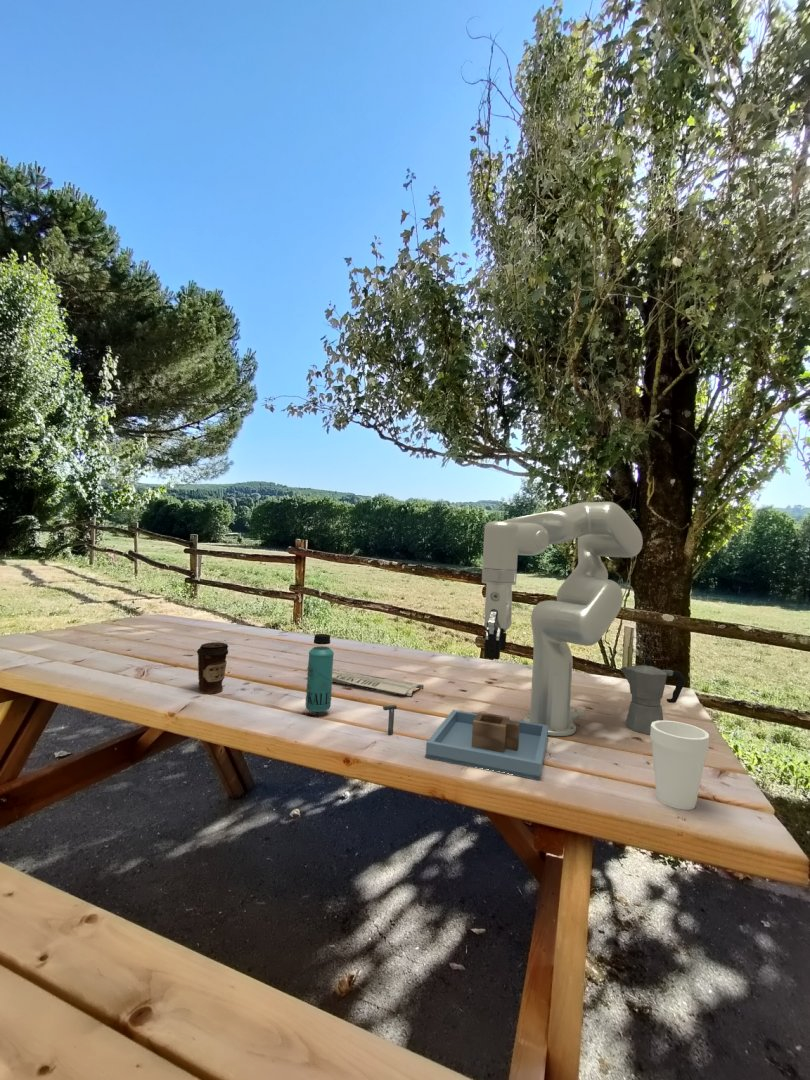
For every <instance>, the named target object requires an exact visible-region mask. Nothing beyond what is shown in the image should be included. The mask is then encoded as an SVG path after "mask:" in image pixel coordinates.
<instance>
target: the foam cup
mask: <svg viewBox="0 0 810 1080" xmlns="http://www.w3.org/2000/svg"><path fill="white" fill-rule="evenodd" d="M649 736H650V737H649V738H650V740H651V746H652V747H651V749H652V751H651V752H652V761H653V770H654V771H653V772H654V783H655V784H654V785H655V794H656V798H657V800H658V801H659V802H660V803H662V804H664V805H665V806H668V807H672V808H674V809H678V810H683V811H691V810H694V809H695V808H696V805H697V801H698V797H699V796H698V795H699V791H700V787H701V782H702V775H703V771H704V767H705V761H706V757H707V752H709V743H710V742H709V739H710V734H709V733H708V732H707V731H706V730H704V729H703V728H701V727H697V726H695V725H693V724H689V723H685V722H681V721H673V720H663V721H655V722H652V724H651V732H650V735H649Z"/></svg>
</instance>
